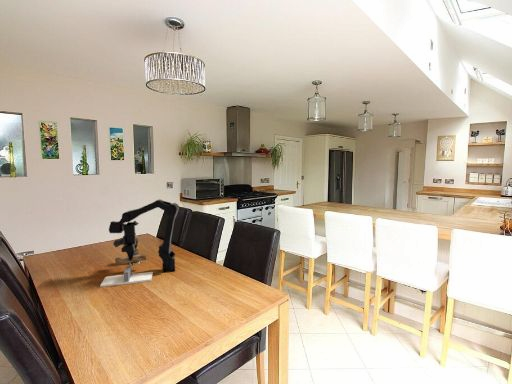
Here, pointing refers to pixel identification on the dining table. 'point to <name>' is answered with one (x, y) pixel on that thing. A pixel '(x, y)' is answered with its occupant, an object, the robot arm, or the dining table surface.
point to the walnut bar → (135, 259)
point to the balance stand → (127, 278)
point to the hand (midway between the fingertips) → (131, 259)
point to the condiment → (135, 254)
